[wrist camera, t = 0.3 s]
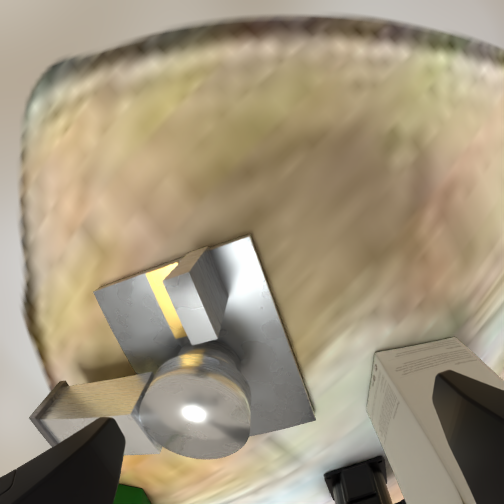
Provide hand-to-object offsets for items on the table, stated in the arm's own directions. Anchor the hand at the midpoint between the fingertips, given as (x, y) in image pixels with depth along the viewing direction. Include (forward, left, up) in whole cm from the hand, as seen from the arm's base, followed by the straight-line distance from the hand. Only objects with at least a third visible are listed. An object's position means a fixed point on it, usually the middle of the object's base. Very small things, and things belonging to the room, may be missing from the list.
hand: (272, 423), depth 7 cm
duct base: (-6, +6, -14) cm, 16 cm away
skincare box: (-13, -9, -14) cm, 21 cm away
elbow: (-6, +11, -11) cm, 17 cm away
